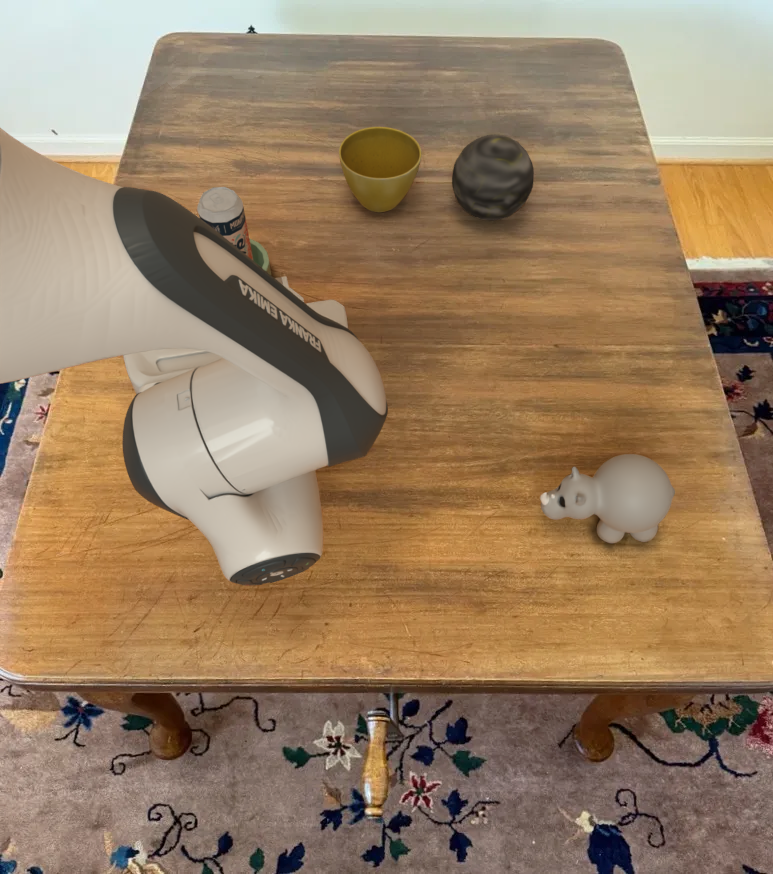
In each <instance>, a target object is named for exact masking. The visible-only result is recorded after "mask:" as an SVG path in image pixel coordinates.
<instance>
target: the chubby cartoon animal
mask: <svg viewBox="0 0 773 874" xmlns="http://www.w3.org/2000/svg"><path fill="white" fill-rule="evenodd" d="M675 494H676V490H675V487H674V486H673V485H672V483H671V480H670V477H669V475H668V474H667V472H666V471H665V470H664V468H663V467H662V466H661V465H660V464H659V463H658V462H656V461H655V460H654V459H652V458H649V457H647V456H644V455H641V454H635V453H624V454H619V455H616V456H613V457H611V458H610V459H608V460H606V461H605V462H603V463H602V464H601V465H600V466H599V467H598V468H597V470H596V471H595V473H594V474H593V476H592V477H591V476H589V475H588V474H584V473H580V471H579V469H578V467H576V466H572V467H571V473H570V474H568V475H566V476H565V477H563V478H562V480H561V482H560V483H559V484H558V486H557V487H556V488H554V489H552V490H549V491H547V492H543V493H541V494H540V496H539V500H540V510H541V511H542V513H543V515H544V516H545V517H547V518H548V519H550V520H554V521H555V520H563V519H565V518H571V519H574V520H586V519H589V518H590V517H592V516H594V515H595V516H597V517H598V519H599V521H598V523H597V525H596V534H597V536H598V537H599V538H600V539H601V540H602V541H604V542H606V543H607V544H616V543H618V542H620V541H621V540H622V539H623V538H624V536H625V535H626V533H628V534H629V535H630V536H631V537H632V538H633V539H634V540H636V541H638V542H641V543H647V542H650V541H652V540H653V539H654V538H655V537H656V535H657V533H658V530H659V524H660V523H662V521H663V520H664V519H665V518H666V516H667V515H668V513H669V512H670V510H671V509H670V508H671V507H672V503H673V499H674V497H675Z"/></svg>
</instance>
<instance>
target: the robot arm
mask: <svg viewBox="0 0 773 874" xmlns="http://www.w3.org/2000/svg"><path fill="white" fill-rule="evenodd" d="M116 357H117V358H118V357H123V362H124V366H125V370H126V373H127V375H128V379H129V381H130V384H131V385H132V389H133V390H134V392H135V395H134V397H133V399H132V400H131V401H130V404H129V405H128V408H127V411H126V413H125V417H124V421H123V428H122V442H121V443H122V455H123V461H124V466H125V469H126V472H127V475H128V478H129V481H130V483H131V485H132V487H133V488H134V490H135V491H136V493H138V494H139V495H140V496H141V497H142V498H143V499H145V500H146V501H148V502H149V503H150V504H152V505H154V506H156V507H158V508H160V509H162V510H164V511H166V512H169V513H170V514H173V515H175V516H177V517H180V518H182V519H185V520H188V521H190V522H191V523H192V524H193V525H194V526H195V528H197V529H198V531H199V532H200V533H201V534H202V535H203V536H204V537H205V538H206V540H207V541H208V543H209V544H210V546H211V547H212V550H213V552H214V554H215V557H216V559H217V562H218V565H219V568H220V570H221V573H222V574H223V576H224V577H225V579H226V580H227V581H228V582H230V583H232V584H236V585H240V586H245V587H249V586H250V587H251V586H262V585H265V584H273V583H277V582H280V581H283V580H285V579H288V578H289V579H290V578H292V577H294V576H296V575H299V574H302V573H304V572H306V571H308V570H309V569H310V568H312V567H313V566H314V565H315V564H316V563H318V562H319V560H320V559H321V558H322V556H323V551H324V523H323V521H324V520H323V511H322V502H321V494H320V488H319V483H318V482H319V481H318V477H317V470H319V469H321V468H323V467H324V468H325V467H326V466H327V467H329V468H330V467H333V466H336V465H340V464H343V463H347V462H351V461H354V460H357V459H361V458H364V457H366V456H367V454H368V453H369V451H370V450H371V449H372V447H373V446H374V444H375V442H376V440H377V439H378V437H379V435H380V433H381V431H382V429H383V427H384V425H385V423H386V420H387V417H388V414H389V413H388V412H389V407H388V406H389V405H388V400H387V396H386V390H385V385H384V382H383V378H382V375H381V373H380V370H379V368H378V366H377V364H376V362H375V360H374V358H373V357H372V354H371V353H370V351H369V350H368V348H367V347H366V346H365V345H364V344H363V343H362V341H361V340H360V339H359V337H357V335H356V334H355V333H354V332H353V331H352V330H351V329H349V323H348V316H347V311H346V308H345V306H344V305H343V304H342V303H340V302H338V301H337V300H336V299H324V300H318V301H313V302H307V303H305V300H304V297H303V296H302V295H301V294H299V293H298V292H297V291H295V290H294V288H292V287H290V286H289V282H288V277H287V276H286V275H285V276H280V277H279V276H278V277H274V276H273V275H272V274H271V275H270V274H269V273H268V272H266V271H265V270H264V269H263V268H262V267H260V266H259V265H258V264H257V263H255V262H254V261H253V260H252V259H251V258H249V257H248V256H247V255H246V254H244V253H243V252H242V251H241V250H240V249H238V248H237V247H236V246H235V245H233V244H232V243H231V242H230V241H228V240H227V239H226V238H225V237H223V236H222V235H221V234H220V233H218V232H217V231H216V230H214V229H213V228H212V227H211V226H209V225H208V224H207V223H205V222H204V221H203V220H201V219H200V217H199V216H197V214H195V213H193V212H192V211H190V210H189V209H188V208H186V207H185V206H183V204H180V203H179V202H177V201H176V200H174V199H173V198H171V197H170V196H168V195H166V194H164V193H162V192H158V191H156V190H155V191H154V190H151V189H150V190H149V189H143V188H138V187H131V186H122V185H121V186H120V185H117V184H114V183H111V182H107V181H104V180H101V179H98V178H95V177H92V176H90V175H86V174H84V173H82V172H79V171H76V170H74V169H72V168H70V167H68V166H65V165H63V164H61V163H59V162H56V161H55V160H52V159H51V158H49V157H47V156H46V155H43V154H41V153H40V152H38V151H36V150H34V149H33V148H31V147H29V146H28V145H27V144H24V143H23V142H21V141H20V140H18V139H16V138H15V137H14V136H12V135H11V134H9V133H8V132H7V131H6V130H4V129H3V128H2V127H0V384H6V383H13V382H17V381H21V380H26V379H29V378H34V377H37V376H42V375H46V374H50V373H54V372H57V371H61V370H65V369H69V368H73V367H77V366H81V365H86V364H91V363H94V362H97V361H103V360H109V359H113V358H116Z"/></svg>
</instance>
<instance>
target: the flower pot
mask: <svg viewBox="0 0 773 874" xmlns="http://www.w3.org/2000/svg"><path fill="white" fill-rule="evenodd" d="M422 155H423V152H422V148H421V145H420V143H419V142H418V141H417V139H415V138H414V136H412V135H411V134H409V133H407V132H405V131H404V130H401V129H397V128H395V127H388V126H369V127H368V126H367V127H364V128H360V129H357V130H355V131H353V132H351V133H350V134H348V135H346V137H345V138H344V139H343V140H342V141H341V143H340V145H339V148H338V157H339V158H338V159H339V162H340V163H339V164H340V166H341V170H342V173H343V177H344V179H345V181H346V183H347V185H348V187H349V189H350V191H351V193H352V194H353V196H354V197H355V199H356V200H357V201H358V203H359V204H360V205H361V206H362V207H364V209H366V210H367V211H370V212H374V213H385V212H390V211H391V210H393V209H395V208H396V207H397V206H398V205H399V204H400V203H401V202H402V200H404V198H405V197H406V196H407V194H408V192H409V191H410V189H411V187H412V186H413V184H414V181H415V179H416V177H417V174H418V173H419V172H418V171H419V168H420V166H421V161H422Z"/></svg>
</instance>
